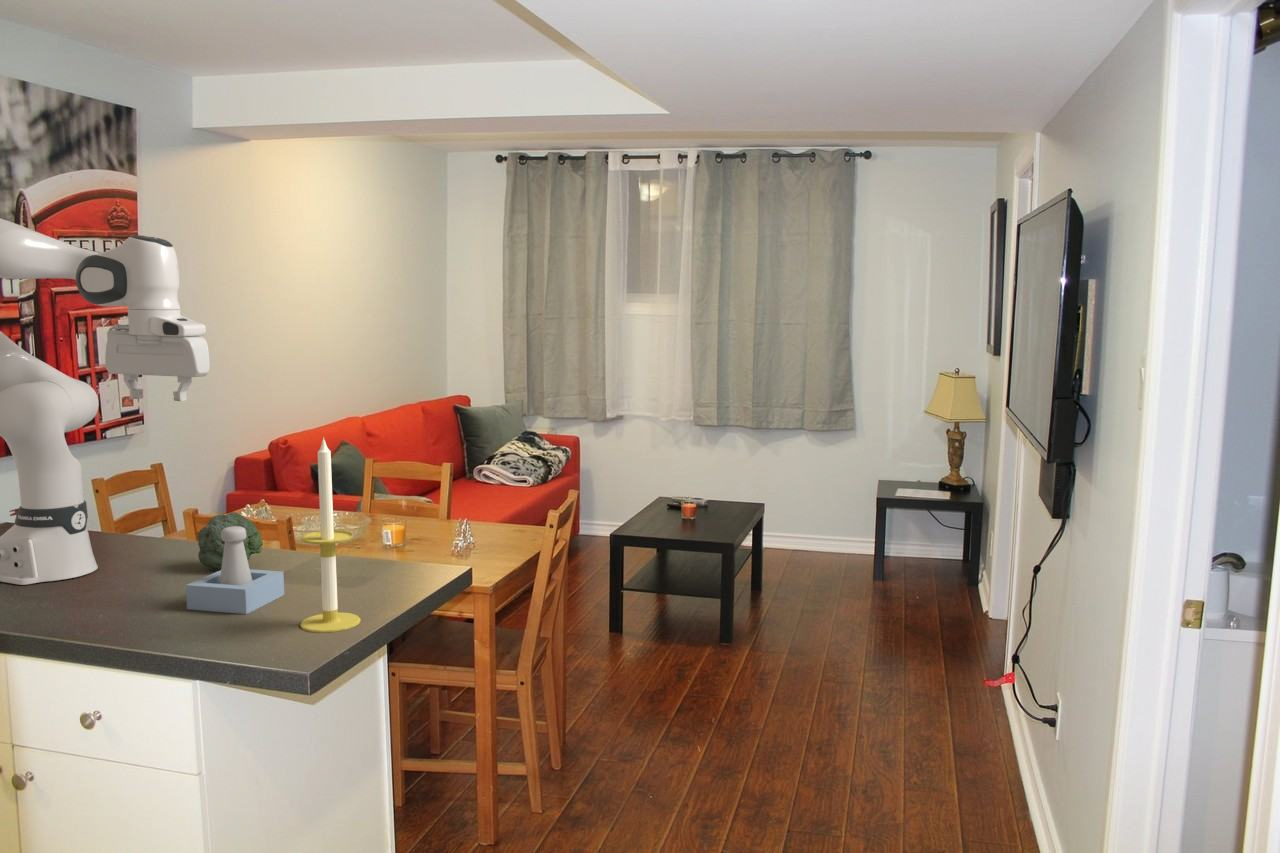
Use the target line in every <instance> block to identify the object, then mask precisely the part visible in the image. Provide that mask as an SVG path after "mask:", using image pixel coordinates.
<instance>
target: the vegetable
mask: <svg viewBox="0 0 1280 853" xmlns="http://www.w3.org/2000/svg"><path fill="white" fill-rule="evenodd" d="M232 526H239V527H243V528H245V530H246V539H245V540H243V543H244V547H245V551H246V556H247V560H248V561H249V559H250V558H252V557H254V555H255V554H260V553H261V552H262V550H263V547H262V546H263V544H264V541H263V540H262V533H261V532H260V531H259V530H258V528H257V526H256V524H255V523H253V521H252V520H250V519H249V518H246V517H244V515H242V514H240V513H238V512H235V511H233V512H229V513H228V514H224V513H223V514H216V515H214V516H212V518H210V519H209V521H208V523H207V524H206V525H205V526H203V527H202V528H201V529H199V531H198V533H197V534H198V535H197V540H198V542H197V543H198V544H197V545H198V548H199V551H198V560H199V562H200V563H201V564H202V566H205V567H206V569H207V570H209V571H218V570H219V569H220V570H221V567H222V560H223V553H224V545H225V542H224V541H222V538H221V531H222V530H223V529H225V528H227V527H232Z"/></svg>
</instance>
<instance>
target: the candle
mask: <svg viewBox="0 0 1280 853" xmlns="http://www.w3.org/2000/svg"><path fill="white" fill-rule="evenodd" d="M331 454H332V452H331V450H330V449H329V448H328V446H327V443H326V439H325V436H323V438H322V440H321V444H320V448H319V449H318V451H317V472H318V496H319V522H320V525H319V526H320V527H319V528H320V530H319V531H313V532H312V531H311V532H308V533H306V534H304V535H302V536H301V537H300V539H301V540H300V541H302V542H303V543H306V544H310V545H311V544H312V545H319V553H320V576H321V577H320V578H321V580H320V581H321V604H322V613H320V614H319V613H318V614H316V615H311V616H309V617H307V618H304V619H303V620H301V623H300V628H301V629H302V630H303V631H306V632H310V633H322V634H324V633H335V632H342V631H347V630H349V629H353V628H354V627H356V626H357V625H359V624H360V623H361V618H360V617H359V616H358V615H357V614H354V613H351V612H341V611H340V612H339V610H338V609H339V606H338V604H339V603H338V582H337V581H338V580H337V558H336V557H337V555H336V553H337V552H336V544H339V543H343V542H346V541H347V542H348V541H349V540H351V539H353V537H354V533H352V532H351V531H349V530H337V529H334V528H335V527H334V509H333V508H334V506H333V504H334V503H333V483H332V482H333V480H332V476H333V475H332V458H331V457H332V456H331Z"/></svg>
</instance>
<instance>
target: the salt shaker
mask: <svg viewBox="0 0 1280 853" xmlns="http://www.w3.org/2000/svg"><path fill="white" fill-rule="evenodd" d="M221 538H222V541H224V542H225V545H224V553H223V560H222V567H221V569H220V570H221V575H220V582H219V584H227V585H240V586H242V585H244V584H247V583H249V582H251V581H253V580H252V576H251V573H250V569H251V568H250V566H249V560H247V556H246V551H245V547H244V543H243V540H245V539H246V530H245V528H243V527H239V526H232V527H227V528H225V529H223V530H222V531H221Z"/></svg>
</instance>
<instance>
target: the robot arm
mask: <svg viewBox="0 0 1280 853" xmlns="http://www.w3.org/2000/svg"><path fill="white" fill-rule="evenodd" d="M179 268H180V267H179V261H178V256H177V252H176V249H175V246H174V245H173V244H172V243H171V242H170V241H168V240H166V239H163V238H159V237H155V236H147V235H138V234H137V235H131V236H129V237H128V238H126V240H125V241H124V242H123V243H121V244H119V245H118V246H116V247H114V248H111V249H108V250H106V251H103V252H99V251H95V250H92V249H87V248H84V247H81V246H76V245H73V244H69V243H67V242H64V241H62V240H59V239H57V238H54V237H52V236H48V235H45V234H44V233H40V232H38V231H36V230H33V229H31V228H29V227H25V226H24V225H20V224H19V223H18V224H17V223H15V222H12V221H9V220H6V219H4V218H0V279H8V280H9V279H11V280H33V279H38V280H39V279H66V280H67V279H68V280H69V279H71V280H75V283H76V288H77V290H78V293H79V294H80V296H82V298H83V299H84V300H85V301H86V302H88V303H90V304H91V305H92V304H93V305H97V306H102V307H127V319H128V321H127V322H128V323H127V324H119V323H115V324H113V325H112V326H110V328H109V329H108V330H107V333H106V338H107V341H106V345H105V353H104V354H105V357H104V358H105V359H104V360H105V361H104V362H105V363H104V365H105V366H104V367H105V369H106V371H107V372H108V373H109V374H111V375H113V374H114V375H122V376H123V382H124V383H125V385H126V386H127V388H128V390H129V398H130V399H131V400H141V399H143V398H144V389H143V388H140V387H139V385H138V382H137V380H138V379H139V376H158V377H159V376H160V377H177V383H179V386H178V388H177V390H175V391H173V393H172V394H173V401H175V402H185V401H187V398H188V397H187V395H188V394H187V392H188V389H190V386H191V385H192V378H201V377H206V376H207V375H208V373H209V372H210V368H211V365H210V363H211V362H210V350H209V345H208V341H207V340H206V339H205V337H203V336H205V335H206V332H207V327H206V325H205V324H203V323H202V322H199V321H197V320H195V319H191V318H189V317H187V316H184V315H182V311H181V304H180V302H179V290H180V284H181V283H180V269H179ZM99 401H100V400H99V397H98V394H97V393H96V390H95V389H94V388H93V387H92V386H91V385H89V384H88V383H87V382H85V381H82V380H79V379H76V378H73V377H71V376H69V375H67V374H65V373H63V372H61V371H60V370H58V369H56V368H54V367H53V366H51V365H50V364H48V363H46V362H45V361H42V360H41V359H40V358H37V357H36V356H33V355H32V354H30V353H28V352H27V351H25V349H23V348H22V347H20V345H18V344H16V342H14V341H13V339H11V338H10V337H8V336H7V335H6V334H4V332H2V331H1V330H0V437H1V438H2V439H3V440H4V441H5V442H6V444H7V446H8V448H9V450H10V453H11V455H12V457H13V460H14V462H15V465H16V466H15V467H16V470H17V478H18V487H19V488H18V489H19V496H20V506H19V507H17V508H15V509H11V510H9V512H10V513H11V512H13V513H11V514H9V516H10V517H13V516H16V517H15V519H14V524H13V525H12V526H11V527H10V528H9V529H7V530H6V531H5V532H4V533H3V534H1V535H0V582H1V583H8V584H14V585H18V586H19V585H21V586H22V585H23V586H25V585H32V584H36V583H44V582H54V581H61V580H68V579H72V578H78V577H82V576H85V575H88V574H91V573H94V572H95V571H97V570H98V568H99V567H98V563H97V562H96V558H95V555H94V552H93V549H92V544H91V539H90V535H89V530H88V526H87V524H88V517H89V516H88V514H89V513H88V505H87V504H88V503H87V501H86V500H85V497H84V496H85V495H84V494H85V492H84V483H83V482H84V480H83V467H82V463H81V462H80V461H79V459H78V458H76V457H75V456H74V455H73V454H72V453H71V450H70V448H69V446H68V443H67V441H66V437H65V433H69V432H73V431H76V430H79V429H80V428H81V427H83V426H85V425H87V424H88V423H89V422H91V421H92V420H93V419H94V418H95V417H96V416H97V414H98V411H99V406H100V404H99Z"/></svg>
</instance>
